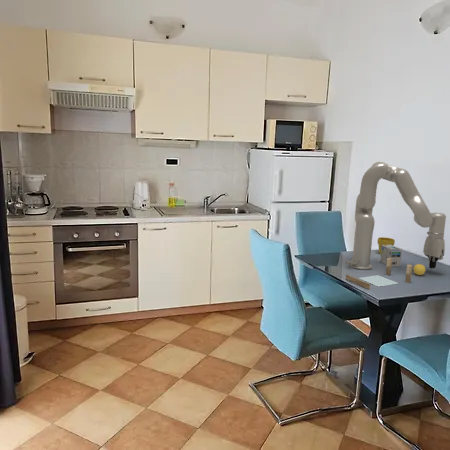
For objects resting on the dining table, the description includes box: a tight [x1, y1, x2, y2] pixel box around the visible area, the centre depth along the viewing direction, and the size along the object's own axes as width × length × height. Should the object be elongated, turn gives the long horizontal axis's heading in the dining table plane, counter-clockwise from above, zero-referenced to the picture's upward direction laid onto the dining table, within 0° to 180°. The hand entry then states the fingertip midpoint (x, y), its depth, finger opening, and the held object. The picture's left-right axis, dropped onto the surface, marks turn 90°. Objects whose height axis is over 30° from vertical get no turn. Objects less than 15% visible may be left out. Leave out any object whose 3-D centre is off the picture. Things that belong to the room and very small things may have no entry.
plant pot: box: [377, 236, 396, 255], centre depth 270 cm, size 10×10×10 cm
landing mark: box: [358, 274, 399, 288], centre depth 214 cm, size 14×14×1 cm
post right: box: [404, 263, 414, 284], centre depth 213 cm, size 3×3×9 cm
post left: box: [384, 258, 392, 276], centre depth 225 cm, size 3×3×9 cm
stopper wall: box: [345, 274, 371, 290], centre depth 207 cm, size 1×16×2 cm, turn 26°
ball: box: [412, 263, 426, 276], centre depth 226 cm, size 6×6×6 cm
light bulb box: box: [379, 245, 403, 268], centre depth 245 cm, size 11×7×11 cm, turn 13°
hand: (432, 267), depth 230 cm, fingers closed
